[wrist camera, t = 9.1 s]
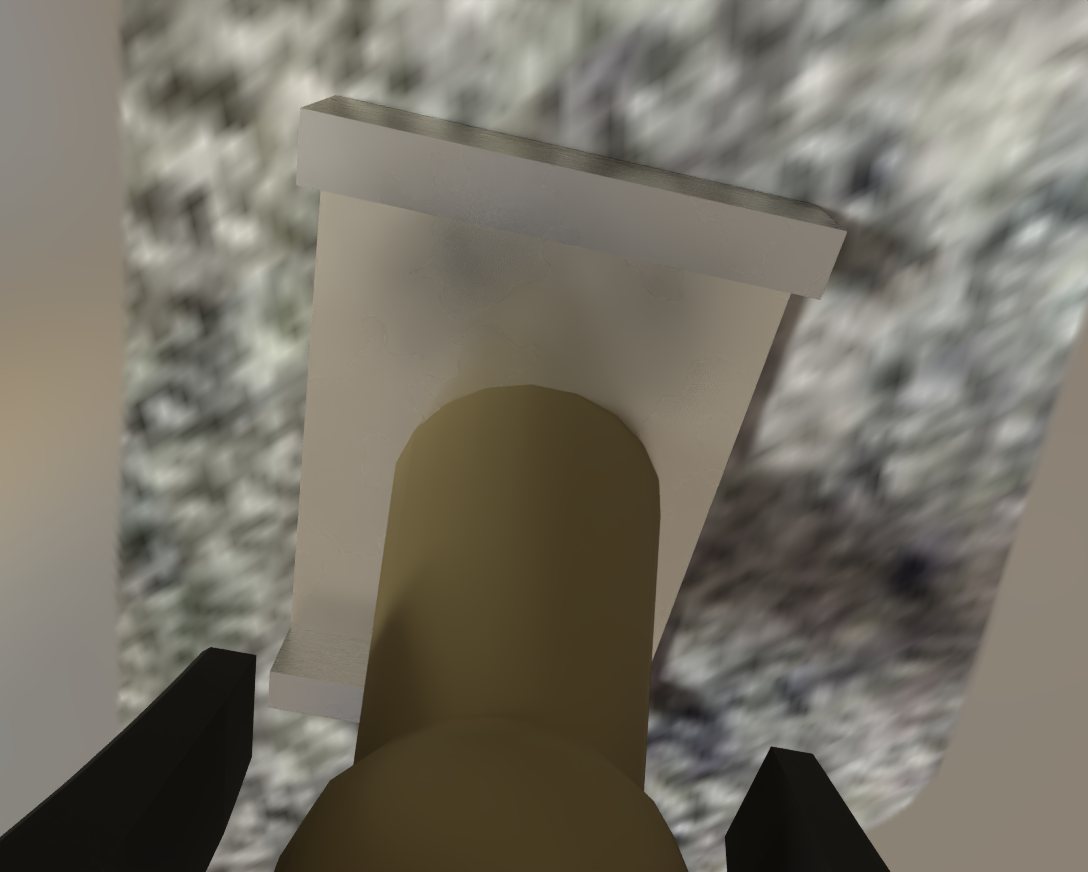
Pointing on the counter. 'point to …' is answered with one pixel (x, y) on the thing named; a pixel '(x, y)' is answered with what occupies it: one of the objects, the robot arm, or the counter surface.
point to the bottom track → (514, 333)
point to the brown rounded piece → (506, 653)
